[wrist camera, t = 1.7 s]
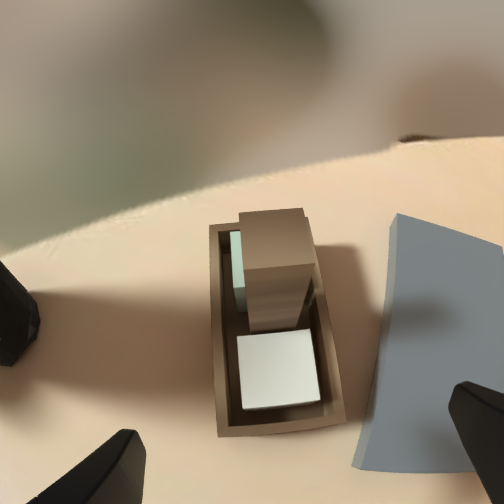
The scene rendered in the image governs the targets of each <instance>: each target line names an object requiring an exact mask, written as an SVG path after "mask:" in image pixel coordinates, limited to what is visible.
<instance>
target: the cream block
mask: <svg viewBox="0 0 504 504" xmlns="http://www.w3.org/2000/svg"><path fill="white" fill-rule="evenodd" d="M237 344H238V358H239V371H240V383H241V395H242V407H243V409H244V410H245V411H246V412H249V411H261V410H271V409H281V408H289V407H297V406H304V405H309V404H312V403H314V402H316V401H318V400H320V394H319V387H318V380H317V373H316V366H315V359H314V353H313V346H312V340H311V333H310V329H306V330H297V331H289V332H280V333H270V334H259V335H248V336H237Z"/></svg>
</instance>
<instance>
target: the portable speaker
mask: <svg viewBox="0 0 504 504" xmlns="http://www.w3.org/2000/svg"><path fill="white" fill-rule="evenodd" d="M39 323H40V318H39V313H38V309H37V304H36V302H35V301H34V299H33V298H32V297H31V296H30V294H29V293H28V292H27V290H26V289H25V288H24V286H23V285H22V284H21V283H20V282H19V281H18V280H17V279H16V278H15V277H14V276H13V275H12V273H11V272H10V271H9V270H8V269H7V268H6V267H5V266H4V264H3V263H2V262H1V261H0V366H11V367H12V365H13V362H14V360H15V359H16V358H17V357H18V356H19V355H20V354H21V353H22V351H23V350H24V349H25V347H26V346H27V345H28V343H29V342H31V341H33V340H35V339H36V336H37V332H38V327H39Z"/></svg>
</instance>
